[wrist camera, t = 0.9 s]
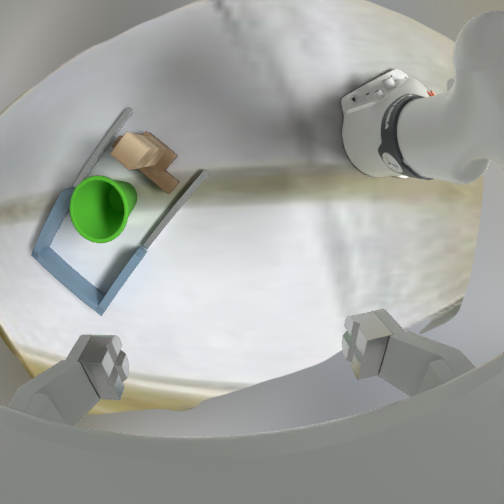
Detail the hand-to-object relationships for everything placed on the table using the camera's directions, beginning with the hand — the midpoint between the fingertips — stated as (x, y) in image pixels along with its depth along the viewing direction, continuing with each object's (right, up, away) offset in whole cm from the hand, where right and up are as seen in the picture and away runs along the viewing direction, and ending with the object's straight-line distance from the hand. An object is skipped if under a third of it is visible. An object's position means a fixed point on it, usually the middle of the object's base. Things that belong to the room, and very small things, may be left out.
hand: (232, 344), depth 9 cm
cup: (-21, +12, +33) cm, 41 cm away
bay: (-29, +4, +35) cm, 46 cm away
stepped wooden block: (-15, +18, +31) cm, 39 cm away
